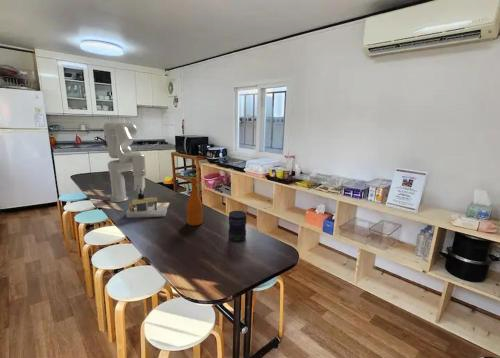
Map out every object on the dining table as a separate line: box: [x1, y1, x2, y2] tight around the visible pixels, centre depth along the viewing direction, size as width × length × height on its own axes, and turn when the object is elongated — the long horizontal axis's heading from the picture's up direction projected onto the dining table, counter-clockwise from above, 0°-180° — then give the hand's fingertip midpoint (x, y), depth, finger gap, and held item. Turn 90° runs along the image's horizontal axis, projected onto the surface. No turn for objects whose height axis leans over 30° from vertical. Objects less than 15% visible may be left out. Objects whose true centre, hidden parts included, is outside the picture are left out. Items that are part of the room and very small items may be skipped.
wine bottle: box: [185, 176, 204, 227], centre depth 155 cm, size 10×10×30 cm
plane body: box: [126, 200, 168, 219], centre depth 169 cm, size 24×9×9 cm, turn 100°
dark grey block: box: [135, 202, 149, 211], centre depth 168 cm, size 6×5×5 cm
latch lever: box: [131, 196, 158, 205], centre depth 165 cm, size 15×2×2 cm, turn 121°
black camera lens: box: [228, 210, 247, 244], centre depth 138 cm, size 10×10×15 cm
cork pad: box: [151, 202, 170, 209], centre depth 186 cm, size 11×11×1 cm
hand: (141, 199), depth 166 cm, fingers closed
